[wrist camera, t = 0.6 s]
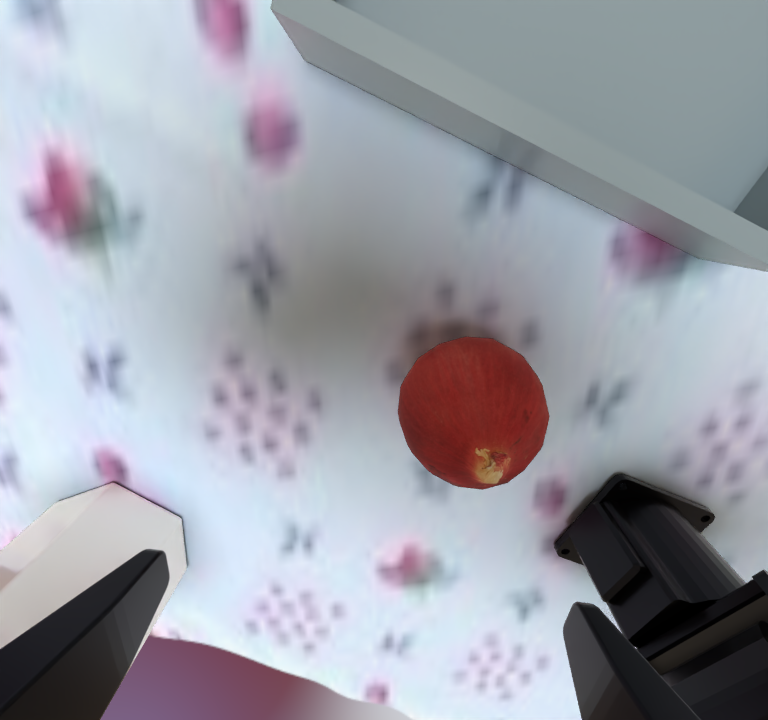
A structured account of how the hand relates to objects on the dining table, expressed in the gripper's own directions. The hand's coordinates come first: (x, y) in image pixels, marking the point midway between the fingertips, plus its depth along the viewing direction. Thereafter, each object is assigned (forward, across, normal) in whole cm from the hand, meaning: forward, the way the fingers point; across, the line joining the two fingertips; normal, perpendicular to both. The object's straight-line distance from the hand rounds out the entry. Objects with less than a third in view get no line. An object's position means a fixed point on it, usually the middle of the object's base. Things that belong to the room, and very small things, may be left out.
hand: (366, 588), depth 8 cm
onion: (+12, -3, 0) cm, 12 cm away
